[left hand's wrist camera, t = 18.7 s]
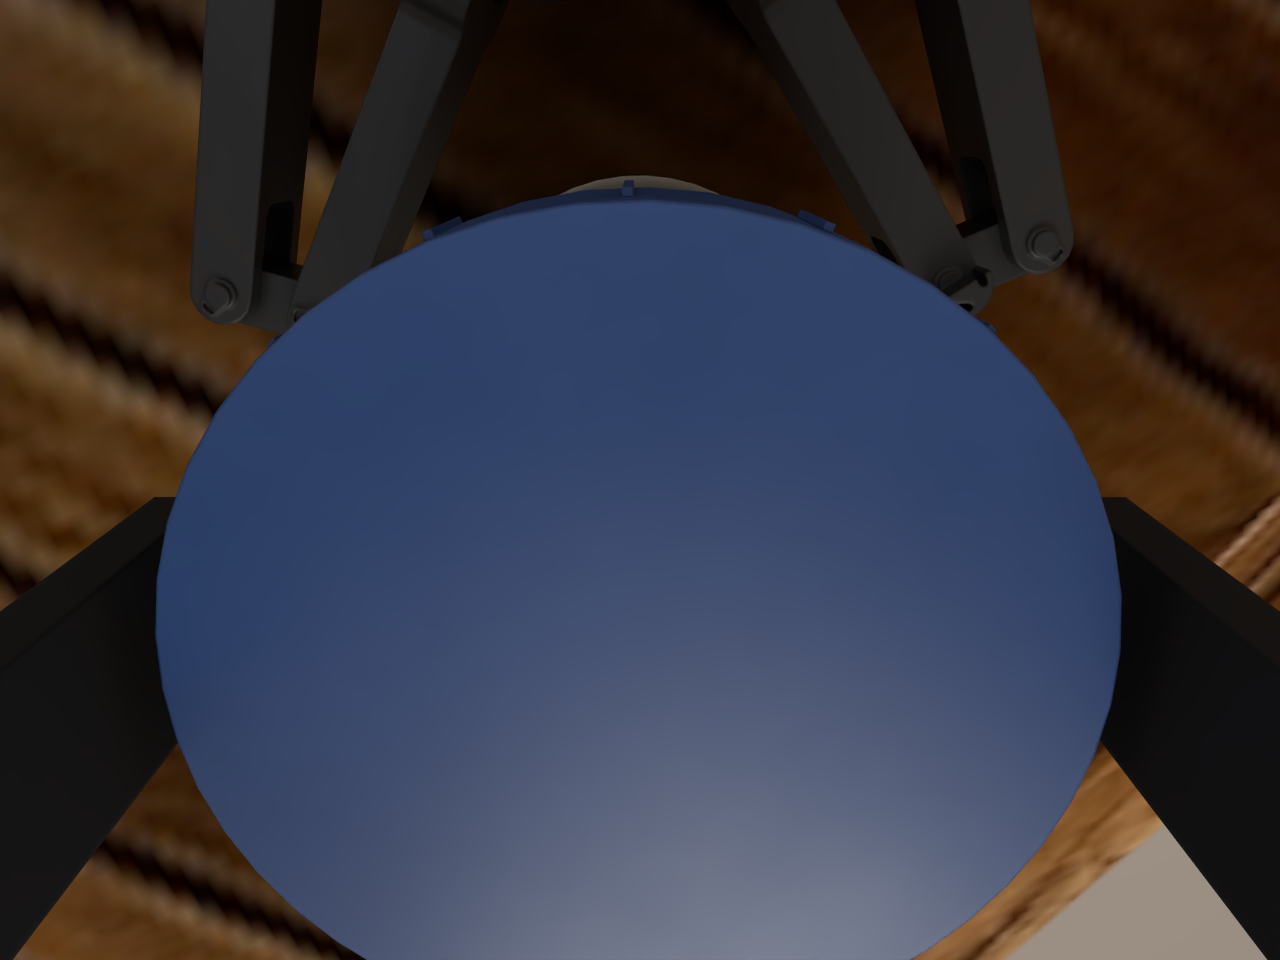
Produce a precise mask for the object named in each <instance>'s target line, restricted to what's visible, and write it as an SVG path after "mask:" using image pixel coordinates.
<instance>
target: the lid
mask: <svg viewBox="0 0 1280 960" xmlns="http://www.w3.org/2000/svg"><path fill="white" fill-rule="evenodd" d="M835 226H836V225H835V224H833V223H831V222H829V221H827V220H824V219H822V218H820V217H818V216H815V215H813V214H811V213H809V212H806V211H804V210H800V211H799V214H798V217H796V216H794V215H791V214H789V213H786V212H783V211H781V210H778V209H776V208H773V207H770V206H766V205H762V204H758V203H753V202H749V201H745V200H740V199H736V198H732V197H727V196H723V195H719V194H714V193H710V192H699V191H688V190H677V189H665V188H654V187H636V188H634V180H625V181H624V184H623V186H622V188H615V189H595V190H583V191H577V192H572V193H567V194H561V195H556V196H551V197H546V198H540V199H535V200H530V201H524V202H521V203H518V204H516V205H513V206H510V207H507V208H504V209H501V210H498V211H495V212H492V213H489V214H486V215H483V216H480V217H477V218H474V219H471V220H468V221H466V222H464V223H463V222H462V220H461V218H460V216H459V217H457V218H454V219H452V220H450V221H447V222H445V223H443V224H441V225H438V226H436V227H434V228H431V229H429V230H427V231H425V232H422V236H423V238H424V240H425V241H424V242H422V243H420V244H419V245H417V246H415V247H413V248H411V249H409V250H407V251H405V252H403V253H401V254H399V255H397V256H395V257H393V258H391V259H389V260H387V261H385V262H383V263H381V264H379V265H377V266H375V267H373V268H371V269H369V270H367V271H365V272H363V273H361V274H360V275H359V276H357V277H356V278H354V279H353V280H351V281H350V282H349V283H347V284H346V285H344V286H343V287H341V288H340V289H339V290H337V291H336V292H334V293H333V294H332V295H330V296H329V297H327V298H326V299H324V300H323V301H322V302H320V303H319V304H317V305H316V306H314V307H313V308H312V309H310V310H309V311H307V312H306V313H305V314H304V315H302V316H301V317H300V318H299V319H298V320H297V321H296V322H295V323H294V324H293V325H292V326H291V327H290V328H289V329H288V330H287V331H286V332H284V333H282V334H280V335H278V336H276V337H275V338H273V339H272V340H271V341H270V342H269V343H268V344H267V345H268V346H269V348H268V349H267V350H266V351H265V352H264V353H263V354H262V355H261V356H260V357H258V358H257V359H256V361H255V362H254V363H253V364H252V366H251V367H250V368H249V370H248V371H247V372H246V374H245V375H244V376H243V377H242V379H241V380H240V381H239V383H238V384H237V385H236V387H235V388H234V389H233V390H232V392H231V393H230V394H229V396H228V397H227V398H226V400H225V401H224V402H223V403H222V405H221V406H220V407H219V409H218V410H217V411H216V413H215V415H214V417H213V419H212V421H211V422H210V424H209V426H208V428H207V430H206V432H205V433H204V435H203V437H202V439H201V441H200V443H199V444H198V446H197V448H196V450H195V452H194V454H193V455H192V457H191V459H190V461H189V463H188V465H187V467H186V470H185V473H184V476H183V478H182V481H181V484H180V487H179V490H178V493H177V495H176V498H175V501H174V504H173V507H172V510H171V512H170V515H169V518H168V521H167V526H166V531H165V537H164V542H163V548H162V553H161V559H160V564H159V569H158V575H157V589H156V630H155V636H156V644H157V651H158V659H159V667H160V675H161V682H162V689H163V693H164V696H165V700H166V703H167V707H168V711H169V714H170V718H171V721H172V725H173V728H174V732H175V735H176V739H177V742H178V744H179V746H180V748H181V751H182V753H183V755H184V757H185V759H186V762H187V764H188V766H189V768H190V771H191V773H192V775H193V777H194V780H195V782H196V784H197V786H198V789H199V790H200V792H201V794H202V795H203V797H204V798H205V800H206V802H207V803H208V805H209V806H210V808H211V810H212V811H213V813H214V815H215V816H216V818H217V819H218V821H219V823H220V824H221V826H222V828H223V829H224V831H225V832H226V834H227V835H228V836H229V838H230V839H231V840H232V841H233V842H234V844H235V845H236V846H237V847H238V849H239V850H240V851H241V852H242V854H243V855H244V856H245V857H246V859H247V860H248V861H249V862H250V863H251V865H252V866H253V867H254V868H255V870H256V871H257V872H258V873H259V874H260V875H261V876H262V877H263V878H264V879H265V880H266V881H267V882H268V883H269V884H270V885H271V886H272V887H273V888H274V889H275V890H276V891H277V892H278V893H279V894H280V895H281V896H282V897H283V898H284V899H285V900H286V901H287V902H289V903H290V904H291V905H292V906H293V907H294V908H295V909H296V910H297V911H298V912H300V913H301V914H302V915H303V916H305V917H306V918H307V919H309V920H310V921H311V922H313V923H314V924H315V925H316V926H318V927H319V928H320V929H322V930H323V931H324V932H326V933H327V934H328V935H329V936H331V937H332V938H333V939H335V940H336V941H337V942H339V943H340V944H342V945H344V946H345V947H347V948H349V949H350V950H352V951H354V952H355V953H357V954H359V955H360V956H362V957H363V958H365V959H367V960H911V959H913V958H914V957H916V956H918V955H920V954H921V953H923V952H925V951H927V950H928V949H930V948H931V947H932V946H934V945H935V944H936V943H938V942H939V941H941V940H942V939H943V938H945V937H946V936H948V935H949V934H950V933H952V932H953V931H955V930H956V929H957V928H959V927H960V926H961V925H963V924H964V923H966V922H967V921H968V920H970V919H971V918H972V917H973V916H974V915H975V914H976V913H978V912H979V911H980V910H981V909H982V908H983V907H984V906H985V905H986V904H987V903H989V902H990V901H991V900H992V899H993V898H994V897H995V896H996V895H997V894H998V893H1000V892H1001V891H1002V890H1003V889H1004V888H1005V887H1006V886H1007V885H1008V884H1009V883H1010V882H1011V881H1012V880H1013V879H1014V877H1015V876H1016V875H1017V874H1018V873H1019V872H1020V871H1021V869H1022V868H1023V867H1024V866H1025V865H1026V864H1027V862H1028V861H1029V860H1030V859H1031V858H1032V857H1033V856H1034V854H1035V853H1036V852H1037V851H1038V850H1039V849H1040V848H1041V846H1042V845H1043V844H1044V842H1045V841H1046V839H1047V838H1048V836H1049V835H1050V833H1051V832H1052V830H1053V829H1054V827H1055V826H1056V824H1057V823H1058V821H1059V820H1060V818H1061V817H1062V815H1063V814H1064V812H1065V811H1066V809H1067V808H1068V806H1069V805H1070V803H1071V802H1072V800H1073V798H1074V796H1075V794H1076V792H1077V790H1078V788H1079V786H1080V784H1081V781H1082V779H1083V777H1084V775H1085V773H1086V771H1087V769H1088V767H1089V765H1090V763H1091V761H1092V759H1093V757H1094V755H1095V752H1096V749H1097V746H1098V743H1099V740H1100V737H1101V734H1102V731H1103V728H1104V725H1105V722H1106V719H1107V716H1108V713H1109V710H1110V707H1111V703H1112V697H1113V692H1114V686H1115V680H1116V674H1117V668H1118V663H1119V657H1120V651H1121V601H1122V595H1121V588H1120V580H1119V573H1118V566H1117V559H1116V551H1115V544H1114V537H1113V534H1112V531H1111V527H1110V524H1109V521H1108V518H1107V514H1106V511H1105V508H1104V504H1103V501H1102V498H1101V495H1100V491H1099V488H1098V485H1097V481H1096V479H1095V477H1094V475H1093V473H1092V471H1091V469H1090V467H1089V465H1088V463H1087V461H1086V459H1085V457H1084V455H1083V453H1082V451H1081V449H1080V447H1079V445H1078V443H1077V440H1076V438H1075V436H1074V434H1073V432H1072V430H1071V428H1070V426H1069V425H1068V423H1067V422H1066V421H1065V419H1064V418H1063V416H1062V415H1061V413H1060V412H1059V411H1058V409H1057V408H1056V406H1055V405H1054V403H1053V402H1052V401H1051V399H1050V398H1049V396H1048V395H1047V393H1046V392H1045V391H1044V389H1043V388H1042V386H1041V385H1040V383H1039V382H1038V381H1037V379H1036V378H1035V376H1034V375H1033V374H1032V373H1031V372H1030V370H1029V369H1028V368H1027V367H1026V366H1025V365H1024V364H1023V363H1022V362H1021V361H1020V360H1019V359H1018V358H1017V357H1016V356H1015V355H1014V354H1013V353H1012V352H1011V351H1010V350H1009V349H1008V348H1007V347H1006V346H1005V344H1004V343H1003V342H1002V341H1001V340H1000V339H999V338H998V337H997V336H996V335H995V334H994V333H995V332H996V329H995V328H994V327H993V326H992V325H990V324H989V323H987V322H985V321H983V320H981V319H979V318H977V317H976V316H974V315H972V314H970V313H969V312H968V311H967V310H965V309H964V308H963V307H961V306H960V305H959V304H957V303H956V302H955V301H954V300H952V299H951V298H950V297H948V296H947V295H946V294H944V293H943V292H942V291H941V290H939V289H938V288H937V287H935V286H934V285H933V284H931V283H929V282H928V281H926V280H924V279H922V278H920V277H919V276H917V275H915V274H913V273H912V272H910V271H908V270H906V269H904V268H903V267H901V266H899V265H897V264H895V263H894V262H892V261H890V260H888V259H886V258H885V257H883V256H881V255H879V254H877V253H876V252H874V251H872V250H870V249H868V248H866V247H864V246H862V245H860V244H858V243H856V242H854V241H852V240H850V239H848V238H846V237H844V236H842V235H840V234H838V233H836V232H834V228H835Z"/></svg>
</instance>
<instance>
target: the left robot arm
mask: <svg viewBox="0 0 1280 960" xmlns="http://www.w3.org/2000/svg"><path fill="white" fill-rule="evenodd" d="M175 498H176V497H154V498H153V499H151V500H150V501H149V502H147V503H146V504H145V505H143V506H142V507H141V508H139V509H138V510H137V511H135V512H134V513H133V514H131V515H130V516H129V517H127V518H126V519H124V520H123V521H122V522H120V523H119V524H118V525H116V526H115V527H114V528H112V529H111V530H110V531H108V532H107V533H106V534H104V535H103V536H102V537H100V538H99V539H97V540H96V541H95V542H93V543H92V544H91V545H89V546H88V547H87V548H85V549H84V550H83V551H81V552H80V553H79V554H77V555H76V556H75V557H73V558H72V559H71V560H69V561H68V562H66V563H65V564H64V565H62V566H61V567H60V568H58V569H57V570H56V571H54V572H53V573H52V574H50V575H49V576H48V577H46V578H45V579H44V580H42V581H41V582H40V583H38V584H37V585H35V586H34V587H33V588H31V589H30V590H29V591H27V592H26V593H25V594H23V595H22V596H21V597H19V598H18V599H17V600H15V601H14V602H13V603H11V604H10V605H8V606H7V607H6V608H4V609H3V610H2V611H0V960H13V959H14V957H15V956H16V955H17V953H18V952H19V951H20V949H21V948H22V947H23V945H24V944H25V943H26V942H27V940H28V939H29V938H30V936H31V935H32V934H33V932H34V931H35V930H36V928H37V927H38V926H39V924H40V923H41V922H42V921H43V919H44V918H45V917H46V915H47V914H48V913H49V911H50V910H51V909H52V907H53V906H54V905H55V903H56V902H57V901H58V900H59V898H60V897H61V896H62V894H63V893H64V892H65V890H66V889H67V888H68V886H69V885H70V884H71V883H72V881H73V880H74V879H75V877H76V876H77V875H78V873H79V872H80V871H81V869H82V868H83V867H84V865H85V864H86V863H87V862H88V860H89V859H90V858H91V856H92V855H93V854H94V852H95V851H96V850H97V848H98V847H99V846H100V844H101V843H102V842H103V841H104V839H105V838H106V837H107V835H108V834H109V833H110V831H111V830H112V829H113V827H114V826H115V825H116V824H117V822H118V821H119V820H120V818H121V817H122V816H123V814H124V813H125V812H126V810H127V809H128V808H129V806H130V805H131V804H132V803H133V801H134V800H135V799H136V797H137V796H138V795H139V793H140V792H141V791H142V789H143V788H144V787H145V786H146V784H147V783H148V782H149V780H150V779H151V778H152V776H153V775H154V774H155V772H156V771H157V770H158V768H159V767H160V766H161V765H162V763H163V762H164V761H165V759H166V758H167V757H168V755H169V754H170V753H171V751H172V750H173V749H174V747H175V746H176V745H177V744H178V742H177V739H176V735H175V732H174V728H173V725H172V721H171V718H170V714H169V711H168V707H167V703H166V700H165V696H164V693H163V689H162V682H161V675H160V667H159V659H158V651H157V644H156V636H155V630H156V589H157V575H158V569H159V564H160V559H161V553H162V548H163V542H164V537H165V531H166V526H167V521H168V518H169V515H170V512H171V510H172V507H173V504H174V501H175ZM1101 498H1102V501H1103V504H1104V508H1105V511H1106V514H1107V518H1108V521H1109V524H1110V527H1111V531H1112V534H1113V537H1114V544H1115V551H1116V559H1117V566H1118V573H1119V580H1120V588H1121V595H1122V601H1121V651H1120V657H1119V663H1118V668H1117V674H1116V680H1115V686H1114V692H1113V697H1112V703H1111V707H1110V710H1109V713H1108V716H1107V719H1106V722H1105V725H1104V728H1103V731H1102V734H1101V737H1100V741H1101V742H1102V744H1103V745H1104V746H1105V747H1106V749H1107V750H1108V751H1109V753H1110V754H1111V755H1112V757H1113V758H1114V759H1115V761H1116V762H1117V763H1118V765H1119V766H1120V767H1121V768H1122V770H1123V771H1124V772H1125V774H1126V775H1127V776H1128V778H1129V779H1130V780H1131V782H1132V783H1133V784H1134V786H1135V787H1136V788H1137V789H1138V791H1139V792H1140V793H1141V795H1142V796H1143V797H1144V799H1145V800H1146V801H1147V803H1148V804H1149V805H1150V806H1151V808H1152V809H1153V810H1154V812H1155V813H1156V814H1157V816H1158V817H1159V818H1160V820H1161V821H1162V822H1163V824H1164V825H1165V826H1166V827H1167V829H1168V830H1169V831H1170V833H1171V834H1172V835H1173V837H1174V838H1175V839H1176V841H1177V842H1178V843H1179V844H1180V846H1181V847H1182V848H1183V850H1184V851H1185V852H1186V854H1187V855H1188V856H1189V858H1190V859H1191V860H1192V862H1193V863H1194V864H1195V865H1196V867H1197V868H1198V869H1199V871H1200V872H1201V873H1202V875H1203V876H1204V877H1205V879H1206V880H1207V881H1208V883H1209V884H1210V885H1211V886H1212V888H1213V889H1214V890H1215V892H1216V893H1217V894H1218V896H1219V897H1220V898H1221V900H1222V901H1223V902H1224V903H1225V905H1226V906H1227V907H1228V909H1229V910H1230V911H1231V913H1232V914H1233V915H1234V917H1235V918H1236V919H1237V920H1238V922H1239V923H1240V924H1241V926H1242V927H1243V928H1244V930H1245V931H1246V932H1247V934H1248V935H1249V936H1250V938H1251V939H1252V940H1253V941H1254V943H1255V944H1256V945H1257V947H1258V948H1259V949H1260V951H1261V952H1262V953H1263V955H1264V956H1265V957H1266V959H1267V960H1280V611H1278V610H1277V609H1276V608H1274V607H1273V606H1272V605H1270V604H1269V603H1267V602H1266V601H1265V600H1263V599H1262V598H1261V597H1259V596H1258V595H1257V594H1255V593H1254V592H1253V591H1251V590H1250V589H1249V588H1247V587H1246V586H1245V585H1243V584H1242V583H1240V582H1239V581H1238V580H1236V579H1235V578H1234V577H1232V576H1231V575H1230V574H1228V573H1227V572H1226V571H1224V570H1223V569H1222V568H1220V567H1219V566H1218V565H1216V564H1215V563H1214V562H1212V561H1211V560H1209V559H1208V558H1207V557H1205V556H1204V555H1203V554H1201V553H1200V552H1199V551H1197V550H1196V549H1195V548H1193V547H1192V546H1191V545H1189V544H1188V543H1187V542H1185V541H1184V540H1182V539H1181V538H1180V537H1178V536H1177V535H1176V534H1174V533H1173V532H1172V531H1170V530H1169V529H1168V528H1166V527H1165V526H1164V525H1162V524H1161V523H1160V522H1158V521H1157V520H1156V519H1154V518H1153V517H1151V516H1150V515H1149V514H1147V513H1146V512H1145V511H1143V510H1142V509H1141V508H1139V507H1138V506H1137V505H1135V504H1134V503H1133V502H1131V501H1130V500H1129V499H1127V498H1126V497H1101Z"/></svg>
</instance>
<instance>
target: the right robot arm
mask: <svg viewBox="0 0 1280 960" xmlns="http://www.w3.org/2000/svg"><path fill="white" fill-rule="evenodd" d="M508 1H509V0H400V5H399V8H398V11H397V14H396V17H395V19H394V22H393V25H392V28H391V30H390V33H389V36H388V38H387V41H386V44H385V46H384V49H383V52H382V55H381V57H380V60H379V63H378V65H377V68H376V71H375V73H374V76H373V79H372V82H371V84H370V87H369V90H368V92H367V95H366V98H365V100H364V103H363V106H362V109H361V111H360V114H359V117H358V119H357V122H356V125H355V127H354V130H353V133H352V136H351V138H350V141H349V144H348V146H347V149H346V152H345V155H344V157H343V160H342V163H341V165H340V168H339V171H338V173H337V176H336V179H335V182H334V184H333V187H332V190H331V192H330V195H329V198H328V200H327V203H326V206H325V209H324V211H323V214H322V217H321V219H320V222H319V225H318V227H317V230H316V233H315V236H314V238H313V241H312V244H311V246H310V249H309V252H308V254H307V257H306V260H305V263H304V265H303V266H302V265H299V264H296V261H297V251H298V241H299V231H300V221H301V210H302V200H303V190H304V180H305V170H306V159H307V149H308V139H309V129H310V119H311V109H312V98H313V88H314V78H315V68H316V58H317V47H318V37H319V27H320V17H321V7H322V0H206V15H205V33H204V51H203V68H202V86H201V104H200V122H199V139H198V157H197V175H196V193H195V210H194V228H193V246H192V264H191V281H190V291H191V298H192V301H193V303H194V305H195V306H196V308H197V310H198V311H199V312H200V313H201V314H202V315H203V316H204V317H205V318H206V319H208V320H210V321H213V322H215V323H217V324H229V325H230V324H233V323H235V322H240V323H244V324H247V325H251V326H254V327H258V328H262V329H265V330H269V331H272V332H275V333H277V334H282V333H284V332H286V331H287V330H288V329H289V328H290V327H291V326H292V325H293V324H294V323H295V322H296V321H297V320H298V319H299V318H300V317H301V316H302V315H304V314H305V313H306V312H307V311H309V310H310V309H312V308H313V307H314V306H316V305H317V304H319V303H320V302H322V301H323V300H324V299H326V298H327V297H329V296H330V295H332V294H333V293H334V292H336V291H337V290H339V289H340V288H341V287H343V286H344V285H346V284H347V283H349V282H350V281H351V280H353V279H354V278H356V277H357V276H359V275H360V274H361V273H363V272H365V271H367V270H369V269H371V268H373V267H375V266H377V265H379V264H381V263H383V262H385V261H387V260H389V259H391V258H393V257H395V256H397V255H399V254H401V252H402V250H403V247H404V245H405V242H406V240H407V237H408V235H409V232H410V230H411V228H412V225H413V223H414V220H415V218H416V215H417V213H418V210H419V208H420V205H421V203H422V201H423V198H424V196H425V193H426V191H427V188H428V186H429V183H430V181H431V178H432V176H433V173H434V171H435V169H436V166H437V164H438V161H439V159H440V156H441V154H442V151H443V149H444V146H445V144H446V142H447V139H448V137H449V134H450V132H451V129H452V127H453V124H454V122H455V119H456V117H457V115H458V112H459V110H460V107H461V105H462V102H463V100H464V97H465V95H466V92H467V90H468V88H469V85H470V83H471V80H472V78H473V75H474V73H475V70H476V68H477V65H478V63H479V60H480V58H481V56H482V53H483V51H484V49H485V48H486V46H487V45H488V43H489V42H490V41H491V39H492V38H493V36H494V34H495V32H496V30H497V28H498V25H499V23H500V21H501V18H502V16H503V13H504V11H505V9H506V6H507V4H508ZM535 1H536V2H549V1H563V0H535ZM726 1H727V3H728V4H729V6H730V8H731V9H732V11H733V13H734V14H735V16H736V17H737V19H738V20H739V22H740V23H741V24H742V25H743V26H744V27H745V28H746V30H747V31H748V32H749V34H750V35H751V37H752V39H753V41H754V42H755V44H756V46H757V48H758V49H759V51H760V53H761V55H762V56H763V58H764V60H765V62H766V63H767V65H768V67H769V69H770V70H771V72H772V74H773V76H774V77H775V79H776V81H777V82H778V84H779V86H780V88H781V89H782V91H783V93H784V95H785V96H786V98H787V100H788V102H789V103H790V105H791V107H792V109H793V110H794V112H795V114H796V116H797V117H798V119H799V121H800V123H801V124H802V126H803V128H804V130H805V131H806V133H807V135H808V137H809V138H810V140H811V142H812V144H813V145H814V147H815V149H816V151H817V152H818V154H819V156H820V158H821V159H822V161H823V163H824V165H825V166H826V168H827V170H828V172H829V173H830V175H831V177H832V179H833V180H834V182H835V184H836V186H837V187H838V189H839V191H840V193H841V194H842V196H843V198H844V200H845V201H846V203H847V205H848V207H849V208H850V210H851V212H852V214H853V215H854V217H855V219H856V221H857V222H858V224H859V226H860V228H861V229H862V231H863V233H864V235H865V236H866V238H867V240H868V242H869V243H870V245H871V247H872V249H873V250H874V252H876V253H877V254H879V255H881V256H883V257H885V258H886V259H888V260H890V261H892V262H894V263H895V264H897V265H899V266H901V267H903V268H904V269H906V270H908V271H910V272H912V273H913V274H915V275H917V276H919V277H920V278H922V279H924V280H926V281H928V282H929V283H931V284H933V285H934V286H935V287H937V288H938V289H939V290H941V291H942V292H943V293H944V294H946V295H947V296H948V297H950V298H951V299H952V300H954V301H955V302H956V303H957V304H959V305H960V306H961V307H963V308H964V309H965V310H967V311H968V312H969V313H970V314H972V315H976V314H978V313H979V312H980V311H981V310H982V309H983V308H984V307H985V306H986V305H987V303H988V302H989V300H990V298H991V296H992V293H993V288H994V287H996V286H998V285H1001V284H1003V283H1006V282H1008V281H1010V280H1013V279H1015V278H1018V277H1020V276H1022V275H1025V274H1027V273H1034V274H1041V273H1048V272H1050V271H1052V270H1054V269H1056V268H1057V267H1059V266H1061V264H1062V263H1063V262H1064V261H1065V260H1066V259H1067V258H1068V256H1069V254H1070V252H1071V249H1072V247H1073V243H1074V231H1073V226H1072V221H1071V216H1070V211H1069V205H1068V200H1067V195H1066V190H1065V184H1064V179H1063V174H1062V169H1061V164H1060V158H1059V153H1058V148H1057V143H1056V137H1055V132H1054V127H1053V122H1052V117H1051V111H1050V106H1049V101H1048V96H1047V90H1046V85H1045V80H1044V75H1043V70H1042V64H1041V59H1040V54H1039V49H1038V44H1037V38H1036V33H1035V28H1034V23H1033V17H1032V12H1031V7H1030V2H1029V0H915V4H916V9H917V13H918V17H919V22H920V26H921V30H922V34H923V39H924V43H925V47H926V52H927V56H928V60H929V64H930V69H931V73H932V77H933V82H934V86H935V90H936V94H937V99H938V103H939V107H940V112H941V116H942V120H943V125H944V129H945V133H946V137H947V142H948V146H949V150H950V155H951V159H952V163H953V167H954V172H955V176H956V180H957V185H958V189H959V193H960V197H961V202H962V206H963V210H964V215H965V219H966V221H964V222H962V223H960V224H957V225H955V223H954V221H953V220H952V218H951V216H950V214H949V212H948V210H947V208H946V207H945V205H944V203H943V201H942V199H941V197H940V195H939V193H938V192H937V190H936V188H935V186H934V184H933V182H932V180H931V178H930V177H929V175H928V173H927V171H926V169H925V167H924V165H923V163H922V162H921V160H920V158H919V156H918V154H917V152H916V150H915V148H914V147H913V145H912V143H911V141H910V139H909V137H908V135H907V133H906V132H905V130H904V128H903V126H902V124H901V122H900V120H899V118H898V117H897V115H896V113H895V111H894V109H893V107H892V105H891V104H890V102H889V100H888V98H887V96H886V94H885V92H884V90H883V89H882V87H881V85H880V83H879V81H878V79H877V77H876V75H875V74H874V72H873V70H872V68H871V66H870V64H869V62H868V60H867V59H866V57H865V55H864V53H863V51H862V49H861V47H860V45H859V44H858V42H857V40H856V38H855V36H854V34H853V32H852V30H851V29H850V27H849V25H848V23H847V21H846V19H845V17H844V16H843V14H842V12H841V10H840V8H839V6H838V4H837V2H836V1H835V0H726Z"/></svg>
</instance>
